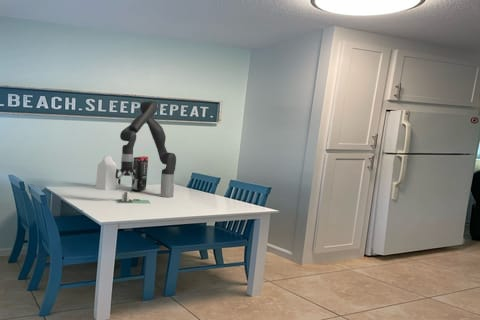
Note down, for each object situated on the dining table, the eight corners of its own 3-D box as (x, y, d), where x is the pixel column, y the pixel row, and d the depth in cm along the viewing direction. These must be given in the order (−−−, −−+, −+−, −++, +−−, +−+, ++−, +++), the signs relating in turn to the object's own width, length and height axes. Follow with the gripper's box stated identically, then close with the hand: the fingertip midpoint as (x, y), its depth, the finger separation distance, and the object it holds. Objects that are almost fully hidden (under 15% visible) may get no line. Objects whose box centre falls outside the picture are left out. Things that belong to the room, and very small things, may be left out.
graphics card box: (138, 188, 374) (140, 155, 372) (146, 189, 373) (148, 156, 371) (131, 191, 357) (132, 156, 355) (139, 192, 356) (141, 157, 354)
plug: (128, 201, 306) (128, 191, 306) (128, 202, 303) (129, 192, 302) (121, 200, 305) (122, 191, 304) (122, 201, 301) (122, 192, 301)
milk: (105, 190, 355) (106, 157, 353) (95, 188, 361) (96, 155, 359) (117, 189, 365) (118, 156, 363) (107, 187, 371) (108, 155, 369)
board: (147, 201, 316) (148, 198, 316) (150, 204, 302) (150, 202, 302) (115, 201, 308) (115, 198, 308) (116, 204, 295) (116, 201, 295)
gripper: (137, 160, 308) (136, 184, 309) (115, 159, 303) (114, 183, 305) (138, 161, 301) (137, 185, 302) (116, 160, 296) (115, 185, 298)
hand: (126, 184), depth 303 cm, fingers open, 8 cm apart
